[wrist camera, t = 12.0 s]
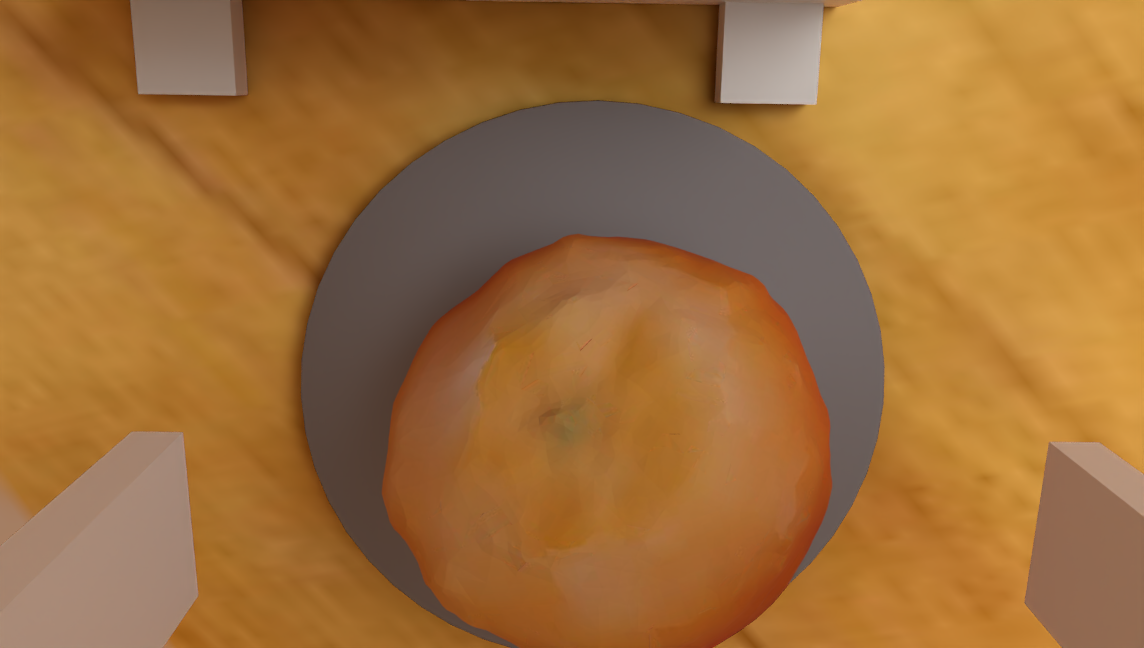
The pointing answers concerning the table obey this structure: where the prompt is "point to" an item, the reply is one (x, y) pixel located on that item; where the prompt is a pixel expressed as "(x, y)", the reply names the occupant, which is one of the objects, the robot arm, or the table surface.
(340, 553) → the table surface
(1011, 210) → the table surface
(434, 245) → the mat
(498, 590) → the fruit
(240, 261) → the table surface
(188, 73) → the wall
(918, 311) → the table surface
